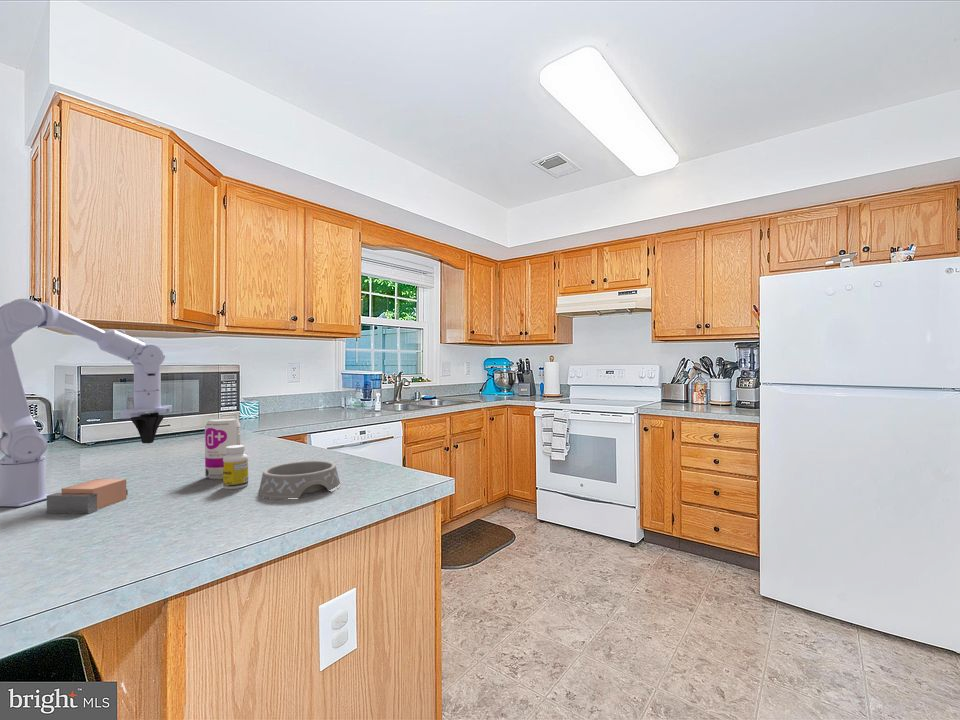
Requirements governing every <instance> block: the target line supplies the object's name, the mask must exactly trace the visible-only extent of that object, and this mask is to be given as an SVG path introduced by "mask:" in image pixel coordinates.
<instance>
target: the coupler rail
mask: <svg viewBox="0 0 960 720" xmlns="http://www.w3.org/2000/svg"><path fill="white" fill-rule="evenodd" d="M50 494H51V495H47V499H46V514H72V513H82V514H81V515H83V513H84V515H89V514H91V512H92V513H94V512H97V511H98V509H97V493H61V492H55V493H50ZM126 496H128V489H126ZM88 513H89V514H88Z"/></svg>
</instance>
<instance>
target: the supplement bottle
mask: <svg viewBox="0 0 960 720" xmlns="http://www.w3.org/2000/svg"><path fill="white" fill-rule="evenodd" d="M245 450H246V447H245V445H244V444H241V445H232V446H227V447H226V453H227V456H225V457H224V458H223V479H222V481H223V482H222V485H223V487H222V488H223V489H226V490H238V489H241V488H242V489H243V488H245V487H247V486H249V456H248V455H247V454H246V453H245Z"/></svg>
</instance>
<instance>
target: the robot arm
mask: <svg viewBox="0 0 960 720" xmlns="http://www.w3.org/2000/svg"><path fill="white" fill-rule="evenodd" d="M36 327H37V328H39V329H48V328H51V329H52V328H54V329H60V330H62V331H65V332H68V333H70V334H73V335H76V336H78V337H82V338H84V339H86V340H90V341H92V342H94V343H96V344H97V346H98V349H99V350H101V351H103V352H105V353H108V354H111V355H113V356H116V357H117V358H120V359H123V360H126V361H130V363H131V364H132V365H133V408H127V409H121V410H119V418H120V419H130V421H131V422H132V423H133V424H134V426H135V427H136V430H137V431H138V434H139V437H140V440H141V443H142V444H153V443H154V442H155V439H156V434H157V431H158V429H159V426H160V424H161V422H162V421H163V420H164V418H165V416H164V413H172V412H173V405H172V404H165V405H162V398H161V397H162V393H161V392H162V391H161V390H162V389H161V388H162V385H161V384H162V381H161V380H162V379H161V378H162V377H161V376H162V375H161V373H162V372H161V365H162V364H163V362H164V361H165V358H166V356H165V355H164V352H163V351H162V350H161V348H160V347H159V346H157V345H155V344H146V340H144V339H138V338H135V337H132V336H130V335H128V334H126V331H125V330H122V329H118V330H116V329H115V328H114V329H109V330H104V329H101V328H99V327H97V326H95V325H93V324H91V323H88V322H87V321H84V320H82V319H79V318H77V317H75V316H73V315H71V314H69V313H67V312H64V311H62V310H60V309H58V308H55V307H53V306H51V305H47V304H44V303H39V302H37V301H36V300H33V299H29V298H17V299H14V300H12V301H10V302H8V303H5V304H3V305H1V306H0V433H1V437H0V452H1V453H2V454H3V456H2V458H1V459H0V507H16V508H17V507H23V506H27V505H30V504H34V503H38V502H41V501H45V500H47V495H51V494H52V493H47V479H46V477H47V476H46V475H47V469H46V467H47V463H46V461H47V460H46V459H47V457H46V455H44V454H45V452H46V451H47V448H48V440H47V438H46V436H45V435H44V434H42V433H40V431H39V430H38V427H37V424H36V422H35V420H34V418H33V416H32V414H31V410H30V408H29V407H30V406H29V404H28V403H29V402H28V400H27V397H26V393H25V390H24V387H23V383H22V379H21V375H20V371H19V368H18V365H17V361H16V358H15V354H14V351H13V347H12V346H13V344H14V343H15V342H16V341H17V340H18V339H19V338H20V337H21V336H23V334H24V333H26V332H28V331H30V330H33V329H34V328H36Z"/></svg>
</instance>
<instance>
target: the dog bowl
mask: <svg viewBox="0 0 960 720" xmlns="http://www.w3.org/2000/svg"><path fill="white" fill-rule="evenodd" d="M339 484H341V481H340V477H339V473H338V469H337V465H336V463H334V462H331V461H326V460H304V461H296V462H295V461H293V462H287V463H280V464H277V465H273V466H269V467H268V468H266V469H264V470H263V472H262V476H261V479H260V484H259V489H258V491H257V492H258V493H257V495H258V494H259V495H258V496H259V497H260V496H261V497H260V498H262V497H264V498H263V499H266V498H271V499H270V500H272V499H288V498H299V497H300V498H301V495H302V494H308V492H309V493H314V492H317V490H318V491H321V490H323V489H325V488H326V489H327V492H329V490H331V489H333V488H335V487H337V486H338V485H339ZM322 488H323V489H322ZM320 489H321V490H320ZM313 491H314V492H313ZM300 498H299V499H300Z"/></svg>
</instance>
